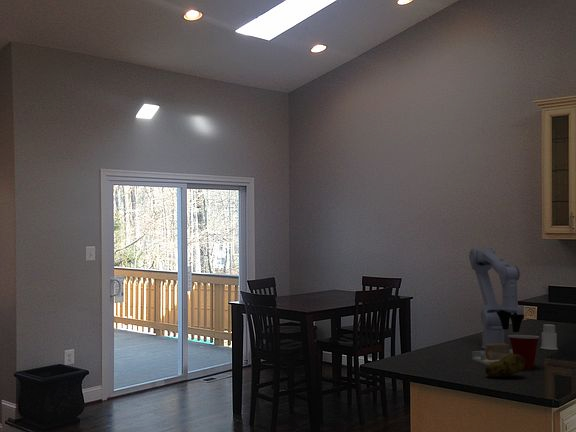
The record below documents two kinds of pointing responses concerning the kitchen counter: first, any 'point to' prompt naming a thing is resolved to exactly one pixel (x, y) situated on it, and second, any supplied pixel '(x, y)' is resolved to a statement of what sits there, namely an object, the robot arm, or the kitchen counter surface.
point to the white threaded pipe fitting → (549, 337)
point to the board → (484, 357)
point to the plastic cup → (525, 348)
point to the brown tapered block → (496, 351)
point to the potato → (506, 366)
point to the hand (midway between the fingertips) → (510, 330)
